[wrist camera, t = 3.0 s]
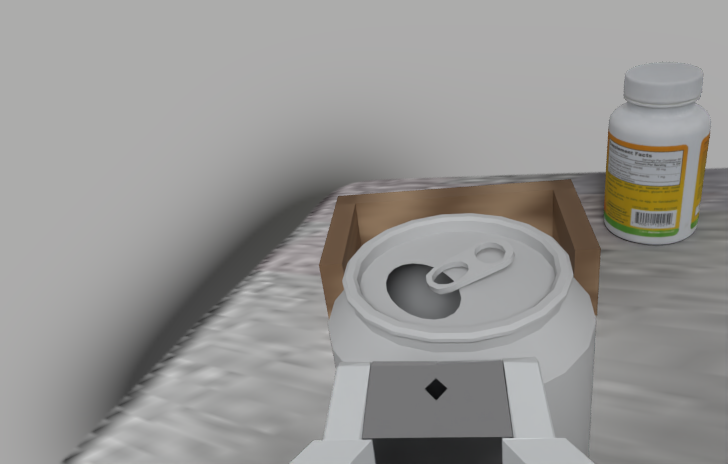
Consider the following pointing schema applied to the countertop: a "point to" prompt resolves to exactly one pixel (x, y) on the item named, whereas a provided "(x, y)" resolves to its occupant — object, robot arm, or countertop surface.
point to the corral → (514, 201)
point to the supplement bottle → (657, 155)
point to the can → (472, 305)
